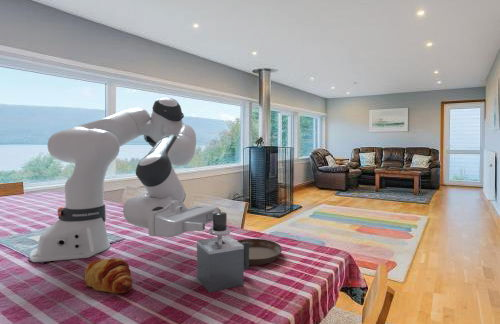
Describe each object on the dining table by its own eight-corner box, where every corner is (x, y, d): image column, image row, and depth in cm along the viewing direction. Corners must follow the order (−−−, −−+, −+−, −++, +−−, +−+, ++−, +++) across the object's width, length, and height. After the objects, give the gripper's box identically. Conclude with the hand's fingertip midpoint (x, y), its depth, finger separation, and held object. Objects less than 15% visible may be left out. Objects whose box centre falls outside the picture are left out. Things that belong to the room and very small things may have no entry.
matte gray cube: (209, 292, 76) (209, 251, 75) (197, 277, 84) (197, 240, 83) (255, 282, 82) (256, 243, 81) (240, 269, 90) (240, 234, 89)
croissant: (80, 287, 86) (64, 265, 83) (112, 260, 92) (98, 239, 89) (119, 314, 72) (101, 289, 69) (153, 281, 78) (138, 256, 75)
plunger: (213, 279, 78) (213, 217, 77) (206, 271, 83) (206, 212, 82) (233, 275, 81) (233, 214, 80) (225, 267, 85) (225, 210, 84)
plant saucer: (266, 273, 88) (266, 262, 88) (213, 260, 97) (213, 250, 96) (290, 253, 103) (291, 244, 103) (243, 244, 112) (243, 235, 112)
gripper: (195, 219, 97) (235, 225, 91) (144, 237, 79) (189, 246, 73) (195, 198, 97) (235, 203, 90) (143, 212, 79) (189, 219, 72)
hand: (214, 222), depth 81 cm, fingers open, 8 cm apart
